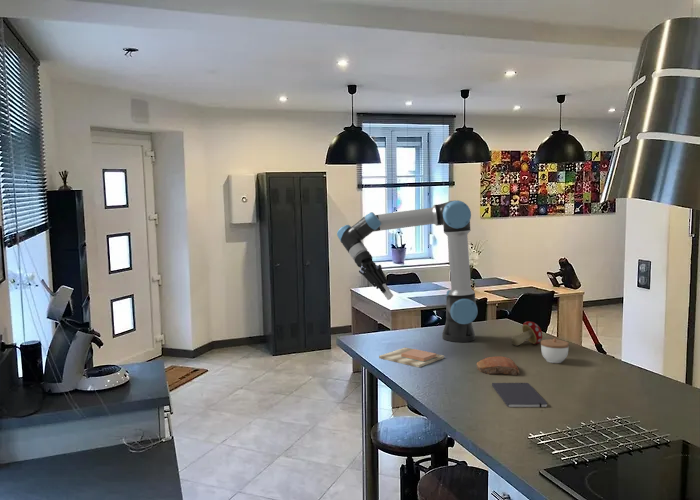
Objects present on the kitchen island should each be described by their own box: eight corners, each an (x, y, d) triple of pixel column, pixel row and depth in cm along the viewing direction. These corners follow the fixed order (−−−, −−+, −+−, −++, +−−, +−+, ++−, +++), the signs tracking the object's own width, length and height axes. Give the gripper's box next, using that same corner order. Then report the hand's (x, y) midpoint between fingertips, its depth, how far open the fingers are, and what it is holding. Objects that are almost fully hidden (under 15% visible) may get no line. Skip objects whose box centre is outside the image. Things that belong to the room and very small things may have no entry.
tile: (401, 353, 240) (423, 358, 233) (414, 349, 247) (436, 353, 240) (401, 357, 241) (423, 362, 233) (414, 352, 247) (436, 357, 240)
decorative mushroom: (509, 328, 259) (536, 314, 263) (501, 336, 269) (527, 322, 273) (523, 350, 255) (551, 335, 259) (515, 357, 265) (541, 343, 269)
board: (378, 358, 243) (378, 355, 243) (405, 349, 256) (405, 347, 256) (418, 367, 229) (418, 364, 229) (444, 358, 243) (444, 355, 243)
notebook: (492, 387, 207) (508, 408, 186) (492, 382, 207) (508, 404, 186) (528, 386, 207) (548, 408, 186) (528, 382, 207) (548, 403, 186)
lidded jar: (564, 357, 242) (565, 335, 242) (571, 365, 232) (572, 341, 231) (537, 357, 243) (538, 335, 243) (543, 364, 233) (544, 341, 232)
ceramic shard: (473, 351, 234) (511, 357, 234) (471, 367, 234) (509, 373, 233) (481, 356, 219) (521, 362, 219) (479, 373, 219) (519, 379, 219)
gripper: (366, 259, 265) (395, 300, 255) (346, 262, 255) (375, 305, 246) (375, 248, 260) (405, 290, 251) (355, 251, 251) (385, 294, 241)
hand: (390, 297), depth 248 cm, fingers closed
